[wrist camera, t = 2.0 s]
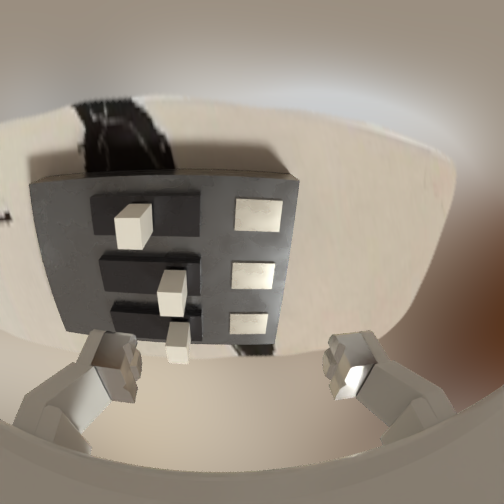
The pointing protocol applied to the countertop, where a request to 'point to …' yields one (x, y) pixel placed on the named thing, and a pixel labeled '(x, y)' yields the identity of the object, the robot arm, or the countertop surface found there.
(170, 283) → the block
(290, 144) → the countertop surface
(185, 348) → the white short rectangular block
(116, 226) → the block
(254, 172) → the breaker panel
